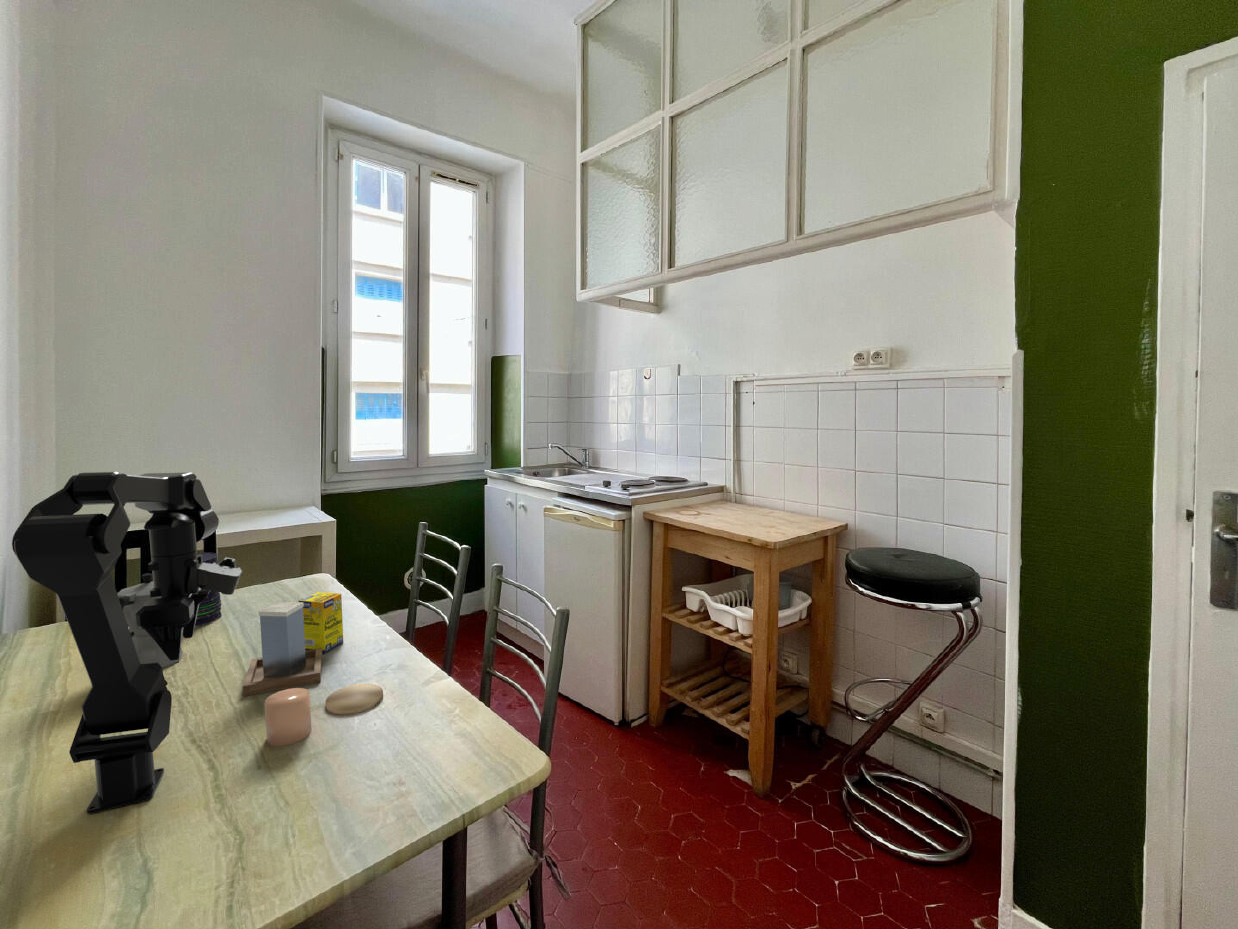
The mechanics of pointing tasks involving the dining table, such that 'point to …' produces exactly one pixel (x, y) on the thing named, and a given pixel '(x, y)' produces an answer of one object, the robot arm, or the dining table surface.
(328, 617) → the supplement box
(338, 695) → the cork coaster
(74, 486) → the robot arm
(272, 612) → the tea tin
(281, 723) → the pink rounded cylinder
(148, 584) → the coffeepot
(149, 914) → the dining table surface
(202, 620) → the storage jar
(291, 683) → the walnut tray
